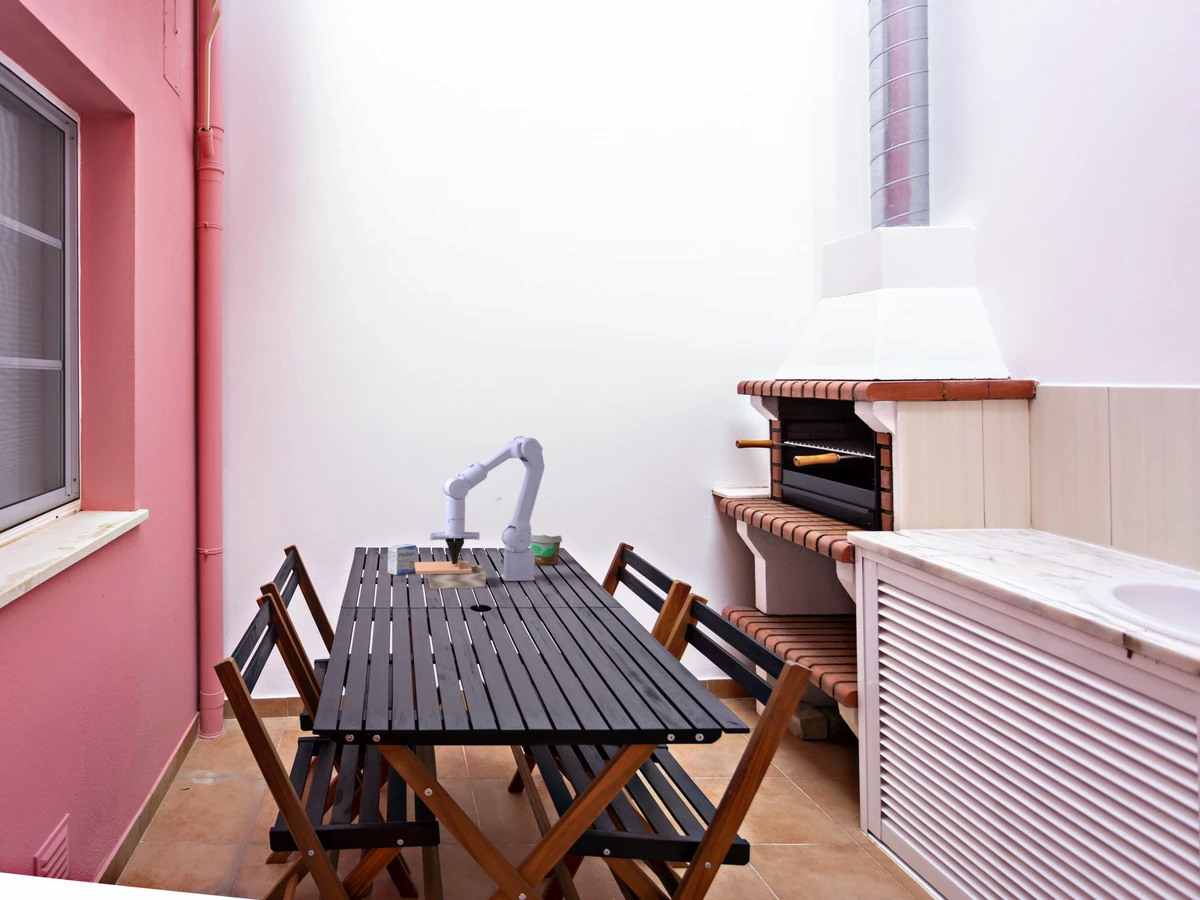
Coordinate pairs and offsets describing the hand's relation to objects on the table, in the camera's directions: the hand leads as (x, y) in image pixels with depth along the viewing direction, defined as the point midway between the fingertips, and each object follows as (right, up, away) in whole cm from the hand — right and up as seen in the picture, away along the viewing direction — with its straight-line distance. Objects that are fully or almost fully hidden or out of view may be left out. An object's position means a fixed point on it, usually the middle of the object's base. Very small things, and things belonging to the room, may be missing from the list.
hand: (454, 563), depth 263 cm
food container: (+24, -5, +33) cm, 41 cm away
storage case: (0, -6, +1) cm, 6 cm away
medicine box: (-19, -5, +13) cm, 23 cm away
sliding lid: (-3, -2, -1) cm, 4 cm away
